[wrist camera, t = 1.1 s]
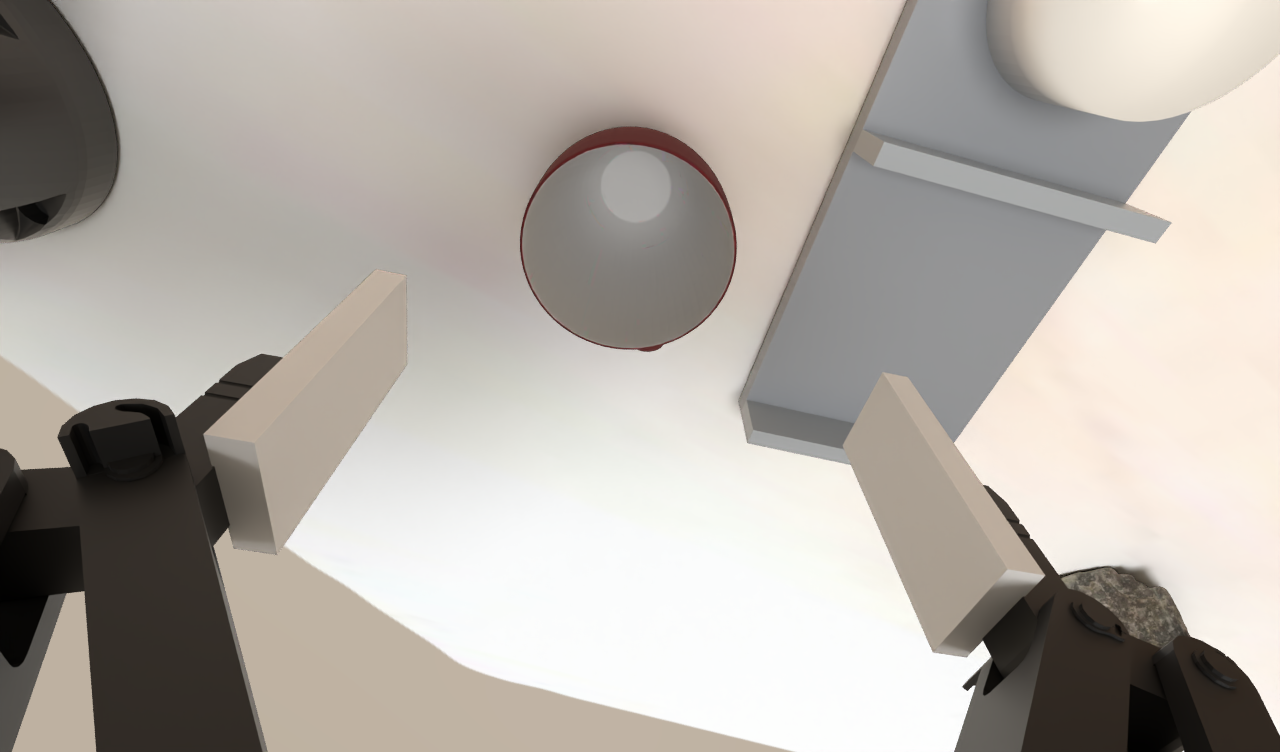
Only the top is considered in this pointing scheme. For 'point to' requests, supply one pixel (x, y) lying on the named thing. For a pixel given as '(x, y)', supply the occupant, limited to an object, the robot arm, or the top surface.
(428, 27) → the top surface
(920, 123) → the rack
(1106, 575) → the stone
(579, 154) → the red cup
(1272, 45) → the white egg shape
